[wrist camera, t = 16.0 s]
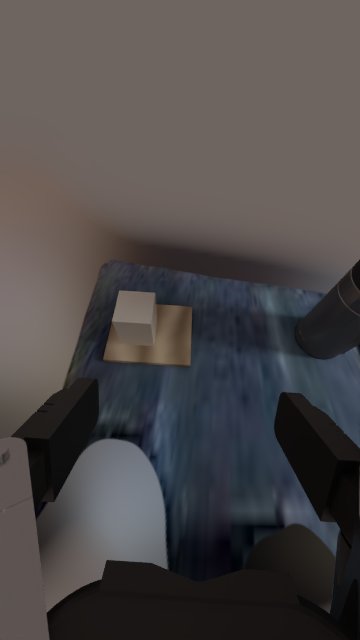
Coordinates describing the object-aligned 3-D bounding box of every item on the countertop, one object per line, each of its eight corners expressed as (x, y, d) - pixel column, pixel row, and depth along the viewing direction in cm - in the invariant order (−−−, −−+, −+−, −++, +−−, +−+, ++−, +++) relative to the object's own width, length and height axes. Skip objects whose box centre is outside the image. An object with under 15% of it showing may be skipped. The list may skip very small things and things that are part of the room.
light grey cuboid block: (157, 318, 47) (155, 292, 40) (154, 346, 44) (150, 323, 36) (127, 316, 47) (119, 290, 40) (121, 344, 44) (111, 321, 36)
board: (191, 309, 50) (192, 306, 49) (189, 367, 43) (190, 365, 42) (118, 304, 49) (117, 301, 49) (104, 361, 43) (103, 359, 42)
